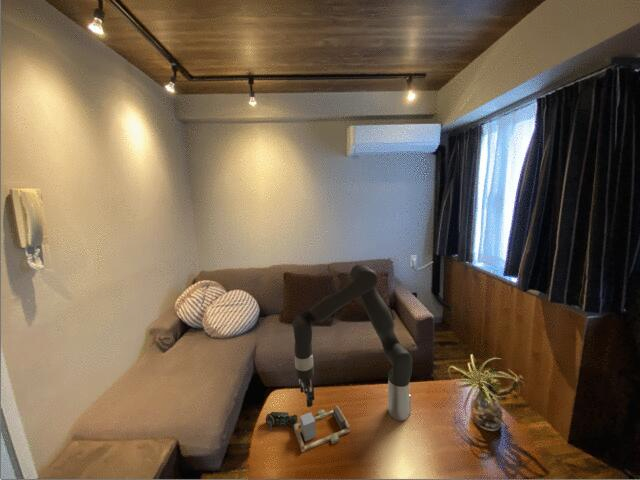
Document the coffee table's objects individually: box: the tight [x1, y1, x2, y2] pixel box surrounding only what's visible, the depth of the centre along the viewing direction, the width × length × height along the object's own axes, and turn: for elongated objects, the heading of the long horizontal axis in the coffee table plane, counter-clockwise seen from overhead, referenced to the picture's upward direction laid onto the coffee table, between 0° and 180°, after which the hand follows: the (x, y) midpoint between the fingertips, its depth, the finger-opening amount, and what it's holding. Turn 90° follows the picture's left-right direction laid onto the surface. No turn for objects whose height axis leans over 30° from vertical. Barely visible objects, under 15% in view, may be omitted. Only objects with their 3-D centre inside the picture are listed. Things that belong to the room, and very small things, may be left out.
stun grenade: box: [264, 411, 299, 432], centre depth 114 cm, size 6×6×14 cm
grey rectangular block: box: [299, 411, 317, 442], centre depth 109 cm, size 5×5×8 cm
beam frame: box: [293, 405, 351, 453], centre depth 111 cm, size 22×16×4 cm
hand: (306, 398), depth 106 cm, fingers open, 8 cm apart
